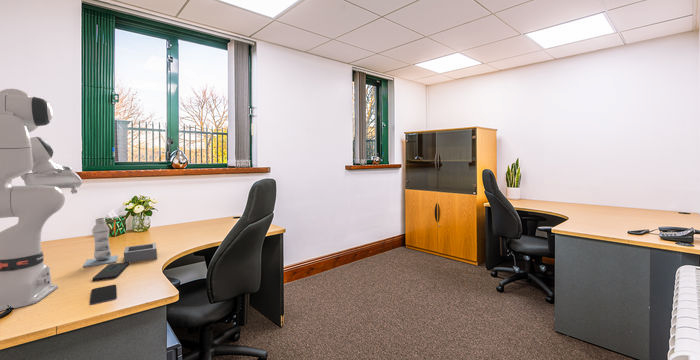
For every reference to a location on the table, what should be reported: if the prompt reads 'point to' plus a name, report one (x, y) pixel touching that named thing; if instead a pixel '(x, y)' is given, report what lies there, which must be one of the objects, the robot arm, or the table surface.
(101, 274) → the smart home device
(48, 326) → the table surface
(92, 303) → the smartphone
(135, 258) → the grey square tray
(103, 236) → the plastic bottle
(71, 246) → the table surface
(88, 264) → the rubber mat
